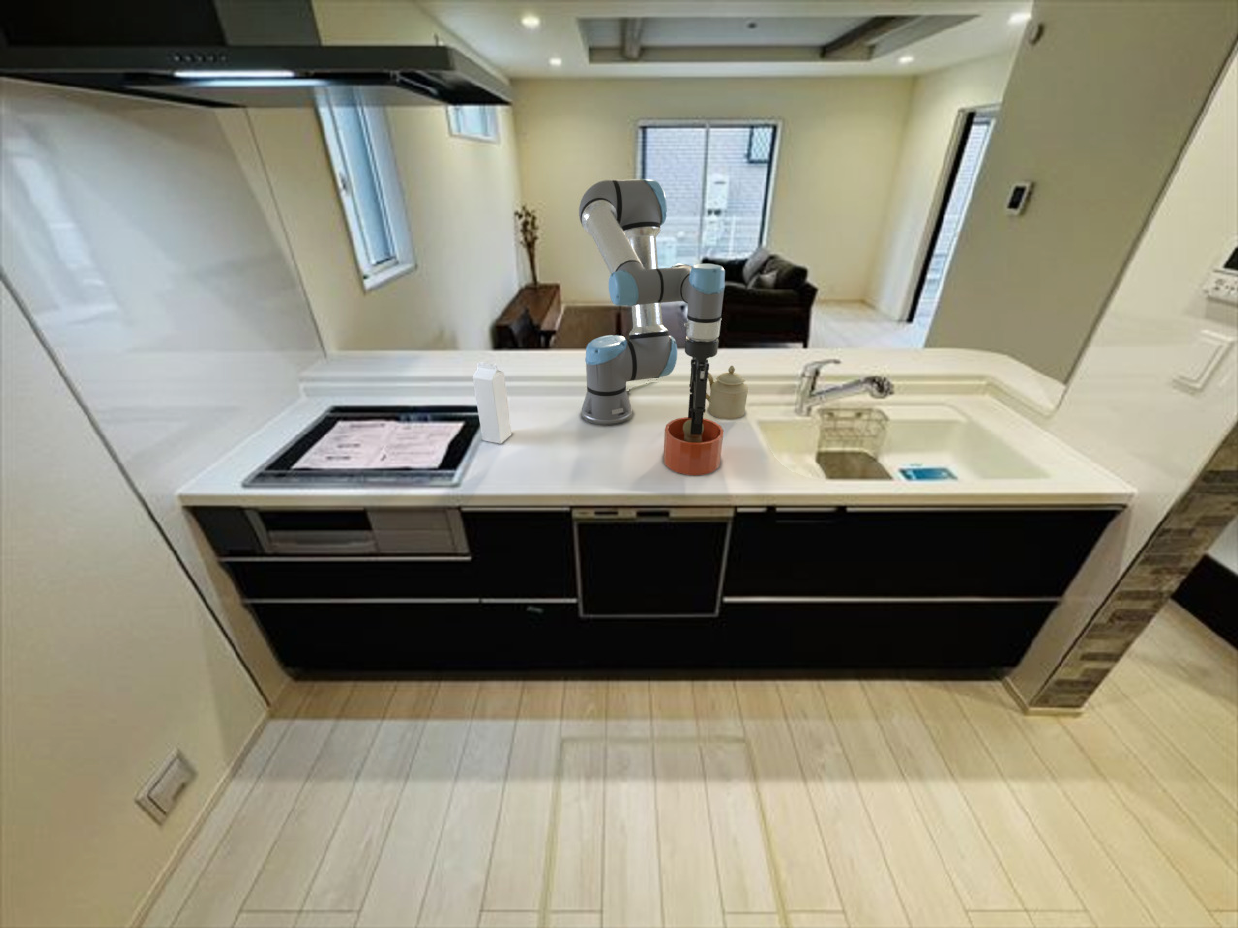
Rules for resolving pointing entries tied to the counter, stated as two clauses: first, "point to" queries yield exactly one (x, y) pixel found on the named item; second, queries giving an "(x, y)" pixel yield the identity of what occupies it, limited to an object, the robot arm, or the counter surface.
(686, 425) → the cork
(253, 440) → the counter surface
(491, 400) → the milk
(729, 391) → the beige ceramic rounded vessel
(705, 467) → the pot
